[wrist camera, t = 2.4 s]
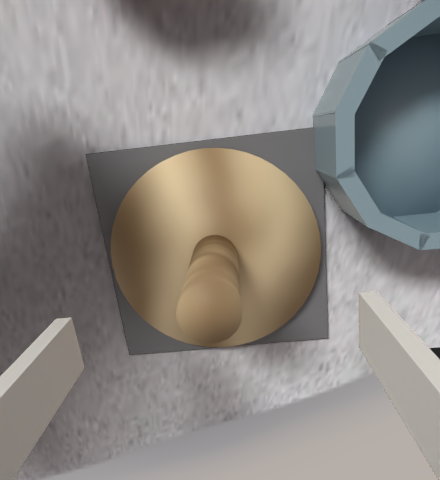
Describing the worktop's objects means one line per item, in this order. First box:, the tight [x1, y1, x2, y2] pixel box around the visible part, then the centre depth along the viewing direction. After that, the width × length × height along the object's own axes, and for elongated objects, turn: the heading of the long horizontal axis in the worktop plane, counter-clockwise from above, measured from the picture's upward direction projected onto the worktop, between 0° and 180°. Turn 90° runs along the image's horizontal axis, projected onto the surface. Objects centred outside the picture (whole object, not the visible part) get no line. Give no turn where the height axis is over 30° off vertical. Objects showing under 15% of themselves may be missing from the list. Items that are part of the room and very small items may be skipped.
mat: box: [86, 127, 328, 355], centre depth 26 cm, size 16×16×1 cm
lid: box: [111, 148, 321, 347], centre depth 21 cm, size 15×15×9 cm
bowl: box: [313, 0, 440, 251], centre depth 21 cm, size 13×13×5 cm
